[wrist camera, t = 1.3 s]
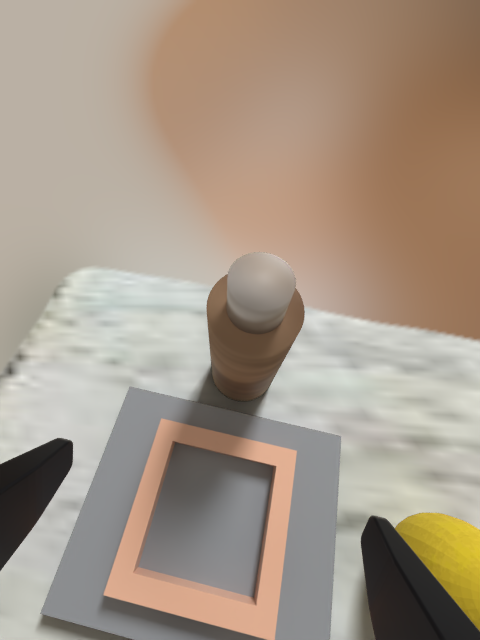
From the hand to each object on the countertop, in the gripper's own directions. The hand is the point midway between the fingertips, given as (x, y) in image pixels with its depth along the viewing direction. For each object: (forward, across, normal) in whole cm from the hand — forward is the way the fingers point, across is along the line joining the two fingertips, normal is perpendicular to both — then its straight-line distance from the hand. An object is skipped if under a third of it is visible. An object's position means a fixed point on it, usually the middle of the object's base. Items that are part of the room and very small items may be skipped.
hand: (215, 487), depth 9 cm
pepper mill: (+15, 0, +4) cm, 16 cm away
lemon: (+9, -13, +11) cm, 19 cm away
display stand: (+8, 0, +11) cm, 14 cm away
